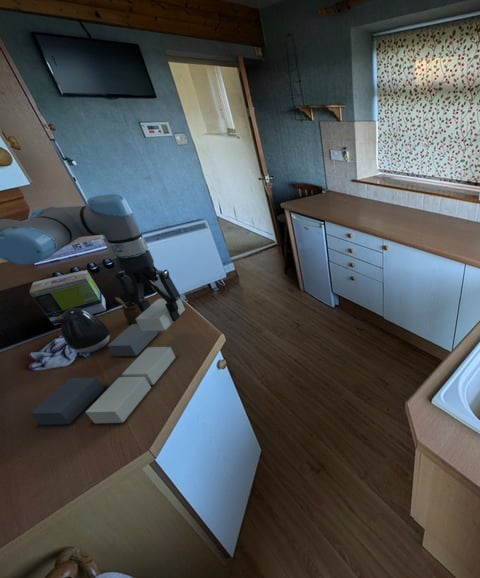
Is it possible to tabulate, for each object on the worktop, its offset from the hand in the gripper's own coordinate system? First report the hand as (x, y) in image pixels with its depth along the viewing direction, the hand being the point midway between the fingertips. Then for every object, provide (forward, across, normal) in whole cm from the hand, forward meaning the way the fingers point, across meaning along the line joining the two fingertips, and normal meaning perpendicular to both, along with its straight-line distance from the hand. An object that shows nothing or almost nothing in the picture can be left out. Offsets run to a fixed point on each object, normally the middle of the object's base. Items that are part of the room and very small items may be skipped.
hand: (164, 318), depth 93 cm
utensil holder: (+11, -22, +14) cm, 28 cm away
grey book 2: (+11, -13, 0) cm, 17 cm away
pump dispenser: (+11, -26, -1) cm, 28 cm away
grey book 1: (+11, -13, -24) cm, 29 cm away
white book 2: (0, 0, 0) cm, 0 cm away
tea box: (+11, -47, +19) cm, 52 cm away
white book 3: (+11, 0, -12) cm, 16 cm away
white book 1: (+11, 0, -24) cm, 26 cm away
